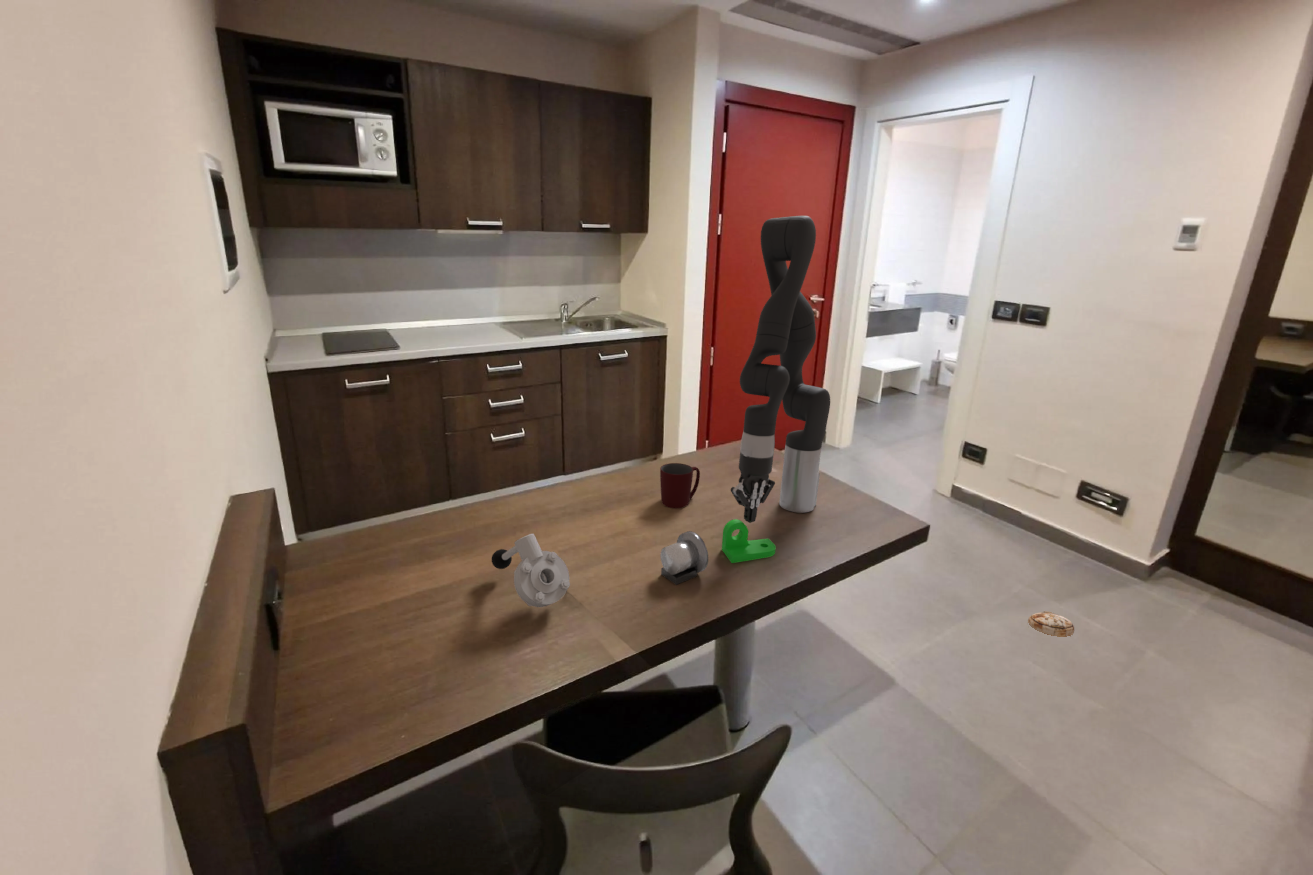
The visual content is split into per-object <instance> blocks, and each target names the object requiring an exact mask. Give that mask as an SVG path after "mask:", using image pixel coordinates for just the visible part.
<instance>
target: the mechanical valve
mask: <svg viewBox="0 0 1313 875" xmlns="http://www.w3.org/2000/svg"><path fill="white" fill-rule="evenodd" d="M516 554H518V555H519V558H520V559H521V561H520V562H519V563H518V565H517V566H516V568H515V570H514V572H513V585H514V590H515V592H516V594H517V596H519V599H521V601H523V602H524V603H526V604H527V606H528V607H535V608H544V607H547V606H550V605H553V604H554V603H557V602H558V601H560V600H561V599H562V598H563V597H564V596H565V595H566V593H567V591H568V589H569V587H570V586H571V583H570V572H569V568H568V566H567V565H566V563H565V561H564V560H563V559H562V558H561V557H560V556H559V555H558V554H557V553H556V552H555V551H548V550H542V548H541V547H540V544H539V542H538V539H537V538H536V536H535V533H529V534H527V535H525V536H523V537H520V538H518V539H517V540H515V541H514V545H513V547H511V548H510V549H508V550H507V549H503V548H500V549H498V550H496V551H494V552H493V554H492V555H491V563H492V566H494V568H496V569H498V570H503V569H507V568H508V567H509V566H510V565H511V563H512V559H513V558H512V557H513V556H514V555H516Z"/></svg>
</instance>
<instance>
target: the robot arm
mask: <svg viewBox="0 0 1313 875" xmlns="http://www.w3.org/2000/svg"><path fill="white" fill-rule="evenodd" d="M816 236H817V230H816V225H815V221H814V220H813V219H812V218H811V216H808V215H794V216H792V215H791V216H781V217H772V218H769V219H767V220H765V221H764V222H763V224H762V227H761V230H760V249H761V253H762V258H763V262H764V267H765V270H766V271H765V272H766V276H767V279H768V280H767V281H768V284H769V288H770V293H771V294H770V297H769V298H768V300H767V301H766V302H765V304H764V306H763V308H762V309H761V312H760V314H759V318H758V324H757V330H756V334H755V340H754V342H753V343H754V344H753V346H752V349H751V351H750V354H749V356H748V358H747V359H746V362H745V364H744V365H743V368H742V370H741V372H740V376H739V386H740V388H741V390H742V392H744V393H745V394H748V395H753V396H760V397H761V396H762V397H768V400H767V402H766V403H763V404H752V405H749V406H747V407H746V408H745V412H744V418H743V420H744V421H743V432H742V436H741V440H740V450H739V461H738V469H739V472H740V477H739V479H738V484H737V485H736V486H735V487H734V486H732V487H731V488H730V492H731V494H732V496H733V497H734V499H735V501H736V502H737V504H738V505H739V506H742V507H744V510H743V512H744V513H743V519H744V521H746V522H747V523H749V524H751V523H755V522H756V519H757V516H758V514H757V513H758V508H759V507H760V505H761V504H764V503H765V501H766V499H767V498H768V497H769V495H770V493H771V492H772V490H773V488H774V486H775V484H776V482H775V480H772V479H770V474H771V473H772V471H773V470H772V469H773V463H774V462H773V461H774V455H775V453H774V452H775V444H776V442H775V441H776V439H775V438H776V437H775V436H776V435H775V434H776V427H777V420H778V414H779V410H780V408H781V407H780V406H781V404H782V407H783V410H784V413H785V415H786V416H788V417H789V418H792V419H795V420H799V421H803V422H805V423H804V427H803V429H799V430H793V431H790V432H788V433H787V434H786V437H785V443H784V444H785V447H784V454H783V455H784V456H783V465H782V475H781V483H780V494H779V502H778V503H779V506H780V507H781V508H782V509H784V510H786V511H789V512H794V513H809V512H812V511H813V510H814V509H815V506H817V499H818V491H819V483H820V476H821V473H820V472H819V471H820V464H821V463H820V462H821V461H820V460H821V453H822V447H823V442H824V439H825V435H826V430H827V424H828V419H829V414H830V408H831V394H830V392H829V391H828V389H826V388H823V387H819V386H814V385H810V384H809V385H808V384H805V382H804V378H803V366H804V364H805V361H806V360H807V358H808V356H809V355H810V353H811V351H812V349H813V347H814V345H815V342H816V338H817V329H816V328H817V327H816V320H815V319H816V318H815V313H814V309H813V308H812V305H811V304H810V302H809V301H808V300H807V298H806V297H805V295H804V294H803V293H802V292H801V290H802V287H803V284H804V281H805V278H806V275H807V272H808V270H809V266H810V264H811V261H812V260H811V259H812V257H813V253H814V250H815V247H816V246H815V245H816ZM787 262H789V266H788V265H787ZM771 356H779V361H780V365H777V364H770V363H769V364H768V363H762V362H763V361H765V359H766V358H769V357H771Z"/></svg>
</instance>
